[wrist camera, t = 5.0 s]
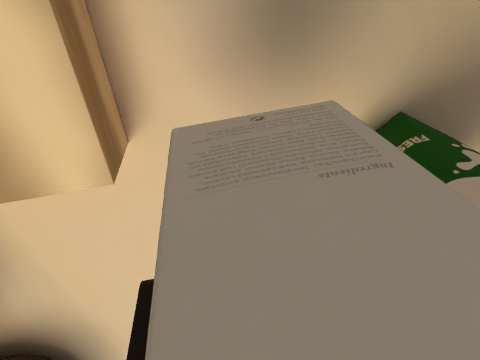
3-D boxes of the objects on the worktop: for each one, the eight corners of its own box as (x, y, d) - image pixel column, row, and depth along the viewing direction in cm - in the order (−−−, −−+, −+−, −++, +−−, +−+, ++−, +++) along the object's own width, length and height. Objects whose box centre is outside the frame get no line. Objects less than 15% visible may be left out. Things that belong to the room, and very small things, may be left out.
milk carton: (405, 94, 26) (840, 304, 9) (449, 169, 30) (803, 411, 13) (313, 167, 28) (523, 454, 11) (366, 228, 32) (578, 506, 15)
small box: (169, 124, 11) (71, 707, 2) (335, 95, 11) (922, 494, 2) (212, 295, 15) (246, 763, 6) (336, 271, 15) (553, 683, 6)
